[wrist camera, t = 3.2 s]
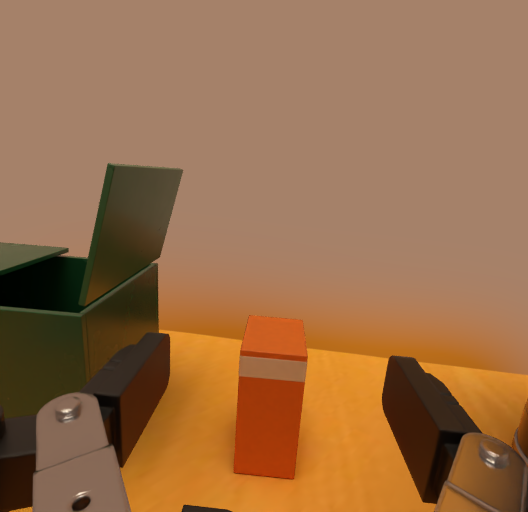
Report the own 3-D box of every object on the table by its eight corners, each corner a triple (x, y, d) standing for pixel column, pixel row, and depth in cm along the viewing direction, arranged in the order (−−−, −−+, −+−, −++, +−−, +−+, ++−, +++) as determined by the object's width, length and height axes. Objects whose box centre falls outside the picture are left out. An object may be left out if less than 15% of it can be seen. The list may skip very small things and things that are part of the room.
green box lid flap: (155, 255, 30) (159, 257, 30) (77, 304, 19) (84, 306, 19) (178, 168, 28) (183, 169, 28) (107, 162, 17) (114, 165, 17)
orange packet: (292, 423, 29) (303, 319, 26) (294, 479, 23) (308, 356, 21) (242, 418, 29) (248, 314, 26) (233, 473, 24) (240, 350, 21)
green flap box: (159, 379, 33) (157, 255, 30) (93, 486, 22) (80, 303, 19) (1, 364, 34) (-17, 240, 31) (-144, 460, 22) (-197, 279, 19)
